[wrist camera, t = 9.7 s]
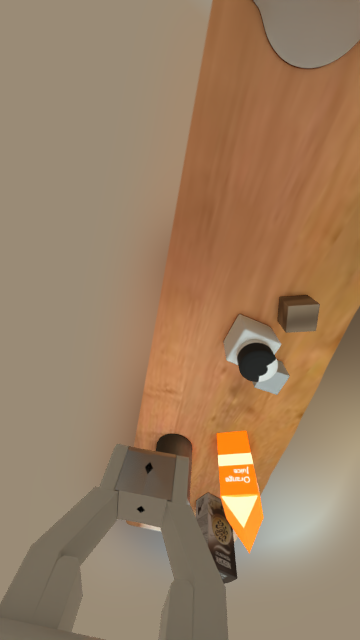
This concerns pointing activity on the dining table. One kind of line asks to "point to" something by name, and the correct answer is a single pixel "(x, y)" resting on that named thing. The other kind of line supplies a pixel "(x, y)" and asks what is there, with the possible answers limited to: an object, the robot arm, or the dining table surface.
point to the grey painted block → (274, 380)
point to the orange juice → (239, 486)
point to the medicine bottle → (252, 349)
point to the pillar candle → (177, 451)
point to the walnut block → (298, 313)
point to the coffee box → (217, 535)
